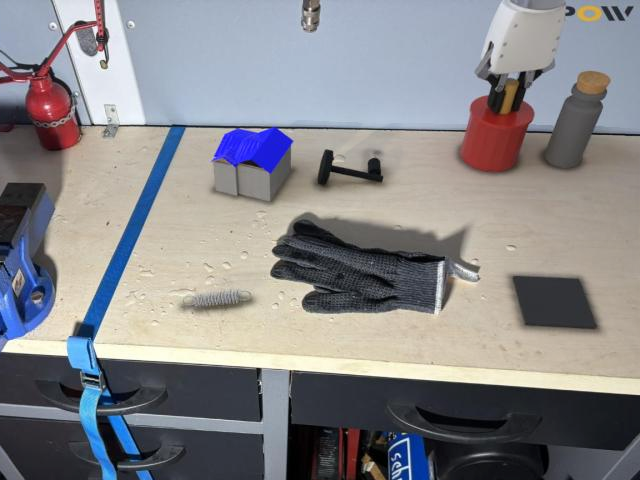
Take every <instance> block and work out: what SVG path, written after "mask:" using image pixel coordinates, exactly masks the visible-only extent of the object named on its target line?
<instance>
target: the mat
mask: <svg viewBox="0 0 640 480" xmlns="http://www.w3.org/2000/svg"><path fill="white" fill-rule="evenodd" d="M512 281H513V284H514V288H515V292H516V296H517V299H518V302H519V306H520V310H521V315H522V318H523V322H524V325H525V326H539V327H553V328H554V327H557V328H573V329H593V330H596V329H597V324H596V321H595V318H594V315H593V313H592V310H591V307H590V305H589V302H588V299H587V297H586V294H585V291H584V288H583V285H582V283H581V281H580V278H575V277H573V278H572V277H551V276H529V275H527V276H526V275H512Z"/></svg>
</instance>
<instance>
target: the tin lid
mask: <svg viewBox="0 0 640 480" xmlns="http://www.w3.org/2000/svg"><path fill="white" fill-rule="evenodd" d="M518 85H519V81H518V80H517V78H514V77H508V78H507V80H506V83H505V86H504V89H503V90H504V91H505V96H504V100H503V103H502V106H501V110H500V113H499V114H494V113H493V112H492V111H491V109H490V108H489V107H488V105H487V100H488V96H489V94H487V95H483V96H479V97H477V98H475V99H474V100H472V102H471V104H470V106H469V115H470V114H471V116H472V117H473V118H474V119H475V120H476V121H478V122H479V123H481V124H483V125H485V126H488V127H491V128H496V129H503V130H513V129H519V128H523V127H525V126H527V125H531V124H532V123H533V121H534V119H535V116H536V115H535V114H536V113H535V110H534V108H533V107H532V106H531V105H530V104H529V102H526V101H525V100H523V102H522V103H521V105H520V108H519V111H517V112H514V111H513V110H512V109H511V108H512V104H513V101H514V98H515V95H516V92H517V89H518Z"/></svg>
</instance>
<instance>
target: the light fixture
mask: <svg viewBox="0 0 640 480" xmlns="http://www.w3.org/2000/svg"><path fill="white" fill-rule="evenodd" d="M374 155H375V153H373V157H372V158H370V159H368V161H367V171H363V170H358V169H352V168H347V167H342V166H337V165H334V164H333V161H334V160H335V157H334V150H332V149H328V148H327V149H325V150H324V151H323V153H322V157H321V160H320V164H319V169H318V173H317V185H321V186H326V185H327V184H328V181H329V179H330V175H331V173H333V174H338V175H344V176H348V177H353V178H358V179H363V180H368V181H373V182H377V183H383V181H384V177H385V175H382V165H381V159H379V158H378V157H375V156H374Z"/></svg>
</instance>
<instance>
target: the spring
mask: <svg viewBox="0 0 640 480" xmlns="http://www.w3.org/2000/svg"><path fill="white" fill-rule="evenodd" d="M242 293H247V294H249V297H247V298H244V299H242V298H240V296H239V295H241V294H242ZM251 297H252V293H251V292H250V291H248V290H240V289H233V291H232V289H230V290H223V292H222V290H220V291H216V292H215V291H213V292H212V291H210V292H208V291H207V292H206V293H205V292H203V293H202V292H197V293H196V296H194V295H185V296H184V297H183V298H182V300H181V301H182V304H183V305H185V306H189V307H192V306H194V305H195V308H198V307H199V308H201V307H208V306H210V307H211V306H215V305H216V306H218V305H219V306H221V305H225V304H226V305H228V304H229V305H232V304H233V305H234V304H235V303H236V304H238V303H239V301H242V302H244V301H245V302H246V301H249V300H250V299H251ZM187 298H192V299H193V300H194V302H193V303H190V304H188V303H186V302H185V299H187Z"/></svg>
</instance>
